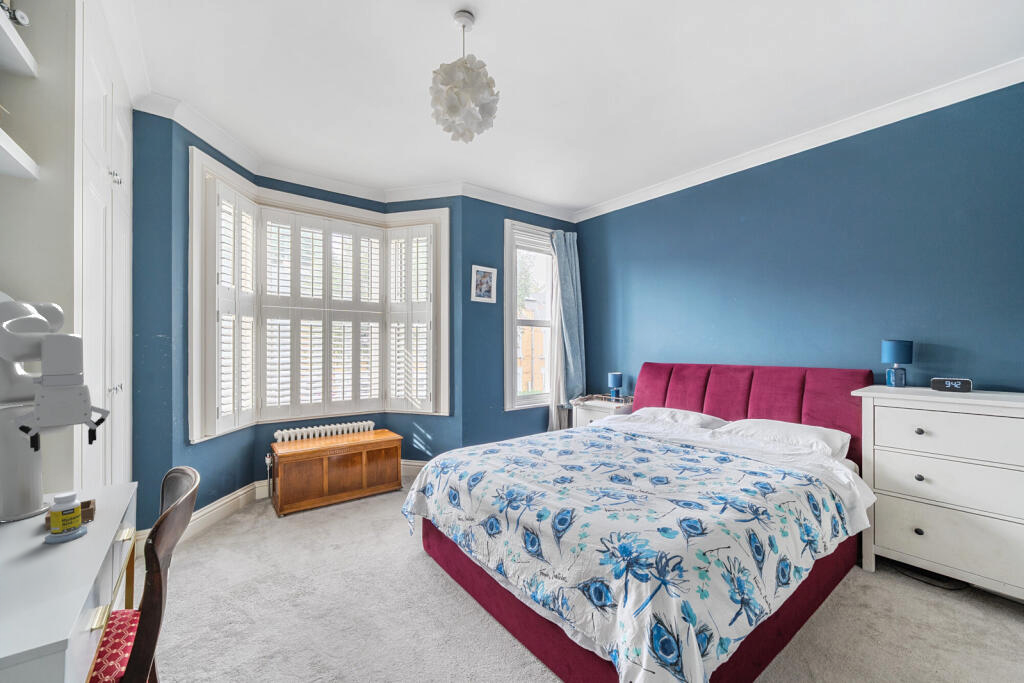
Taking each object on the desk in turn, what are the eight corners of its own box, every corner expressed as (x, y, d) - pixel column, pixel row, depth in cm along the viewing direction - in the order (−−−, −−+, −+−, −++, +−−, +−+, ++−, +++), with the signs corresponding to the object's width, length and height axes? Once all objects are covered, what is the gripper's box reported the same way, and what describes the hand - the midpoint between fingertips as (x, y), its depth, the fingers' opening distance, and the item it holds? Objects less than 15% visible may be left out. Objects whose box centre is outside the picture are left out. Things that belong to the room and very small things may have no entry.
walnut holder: (50, 520, 120) (50, 507, 120) (95, 510, 126) (95, 499, 126) (45, 530, 113) (45, 517, 113) (93, 520, 119) (93, 507, 119)
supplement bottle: (61, 538, 106) (60, 499, 106) (45, 536, 107) (43, 498, 107) (87, 528, 111) (85, 491, 111) (71, 527, 112) (69, 490, 112)
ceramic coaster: (35, 545, 104) (35, 541, 104) (61, 532, 112) (61, 528, 112) (72, 541, 106) (72, 537, 106) (94, 528, 113) (94, 525, 113)
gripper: (8, 385, 101) (10, 456, 102) (108, 379, 113) (109, 444, 113) (15, 382, 107) (17, 450, 107) (109, 377, 118) (111, 438, 119)
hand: (64, 447), depth 110 cm, fingers open, 9 cm apart
